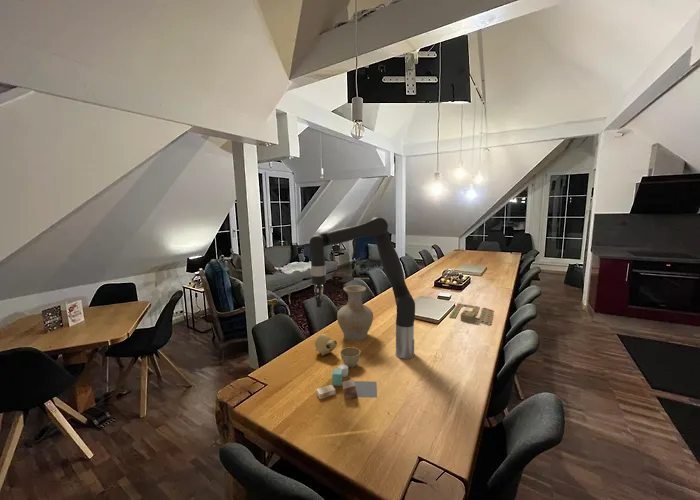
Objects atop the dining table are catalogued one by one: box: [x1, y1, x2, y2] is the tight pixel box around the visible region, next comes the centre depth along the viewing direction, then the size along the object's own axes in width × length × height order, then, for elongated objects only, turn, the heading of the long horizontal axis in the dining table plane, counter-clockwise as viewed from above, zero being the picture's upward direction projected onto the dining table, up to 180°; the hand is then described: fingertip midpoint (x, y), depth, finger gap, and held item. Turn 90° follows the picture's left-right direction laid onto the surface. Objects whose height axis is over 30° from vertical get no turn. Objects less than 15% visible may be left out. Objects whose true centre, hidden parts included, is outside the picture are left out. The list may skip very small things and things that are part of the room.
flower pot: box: [339, 346, 361, 369], centre depth 149 cm, size 10×10×7 cm
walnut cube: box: [341, 378, 358, 400], centre depth 125 cm, size 5×5×5 cm
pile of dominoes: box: [448, 302, 494, 327], centre depth 213 cm, size 35×27×6 cm
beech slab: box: [316, 384, 336, 400], centre depth 126 cm, size 7×4×3 cm, turn 115°
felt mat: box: [354, 380, 378, 398], centre depth 129 cm, size 11×11×1 cm
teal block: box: [331, 368, 343, 387], centre depth 133 cm, size 4×4×6 cm
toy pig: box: [314, 333, 338, 357], centre depth 160 cm, size 10×12×11 cm
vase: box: [336, 284, 374, 342], centre depth 179 cm, size 22×22×30 cm
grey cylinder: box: [337, 364, 349, 378], centre depth 140 cm, size 5×5×4 cm
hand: (319, 304), depth 155 cm, fingers open, 8 cm apart
